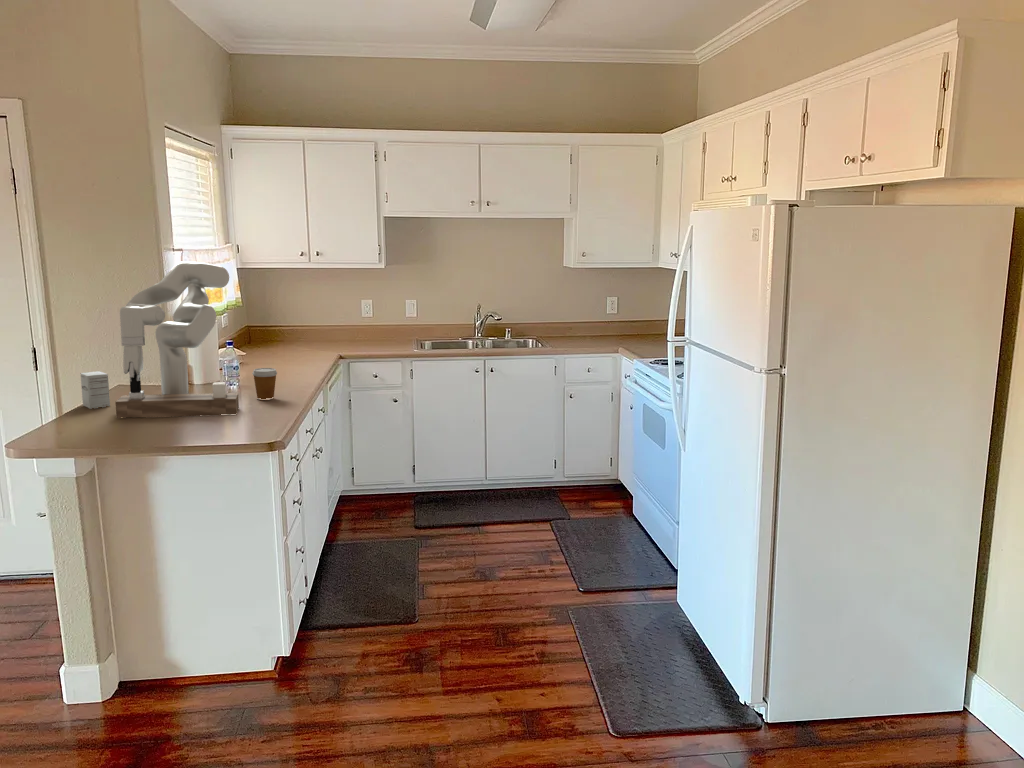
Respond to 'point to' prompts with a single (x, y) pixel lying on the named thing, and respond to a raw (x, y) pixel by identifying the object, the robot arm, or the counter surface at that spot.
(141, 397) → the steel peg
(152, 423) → the counter surface
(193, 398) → the walnut block
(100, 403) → the supplement box
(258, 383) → the disposable coffee cup
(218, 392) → the white peg
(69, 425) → the counter surface
